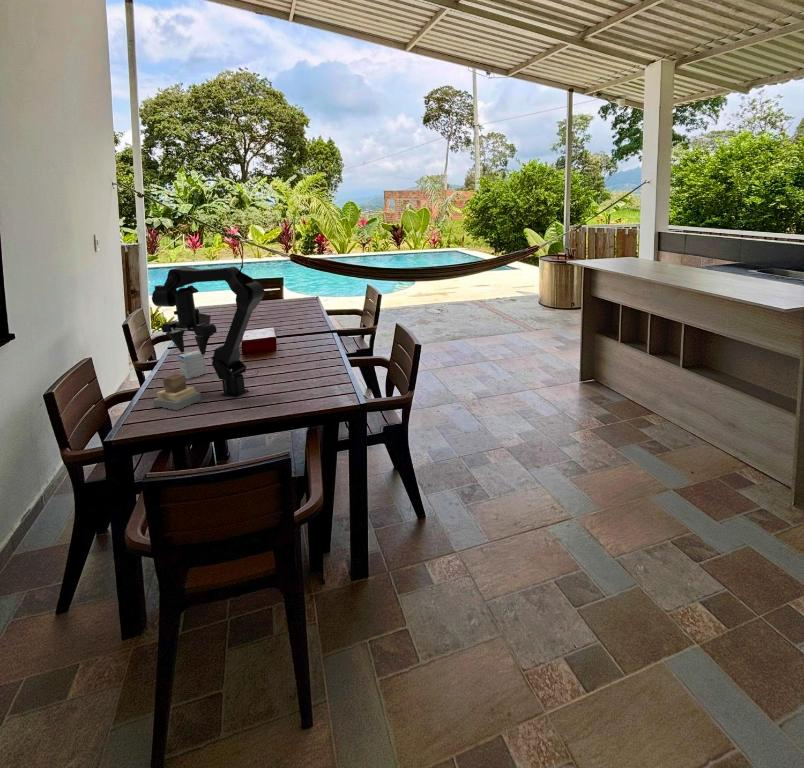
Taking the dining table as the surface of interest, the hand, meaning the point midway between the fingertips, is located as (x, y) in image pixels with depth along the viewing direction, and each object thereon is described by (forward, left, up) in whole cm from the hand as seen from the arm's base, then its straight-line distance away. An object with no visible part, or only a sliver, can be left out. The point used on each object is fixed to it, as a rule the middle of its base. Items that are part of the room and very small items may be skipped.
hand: (192, 353), depth 183 cm
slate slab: (-3, +12, -13) cm, 18 cm away
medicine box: (+14, -12, -13) cm, 23 cm away
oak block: (-3, +12, -10) cm, 16 cm away
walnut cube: (-3, +12, -8) cm, 15 cm away
